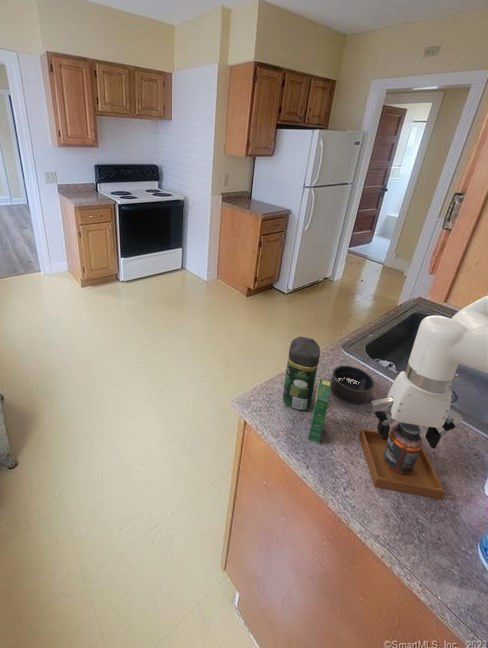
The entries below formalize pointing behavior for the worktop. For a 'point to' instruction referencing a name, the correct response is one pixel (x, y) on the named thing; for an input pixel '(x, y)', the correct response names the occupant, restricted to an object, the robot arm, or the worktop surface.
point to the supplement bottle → (403, 447)
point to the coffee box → (319, 410)
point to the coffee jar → (301, 373)
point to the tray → (384, 477)
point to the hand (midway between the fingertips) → (405, 438)
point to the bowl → (352, 385)
